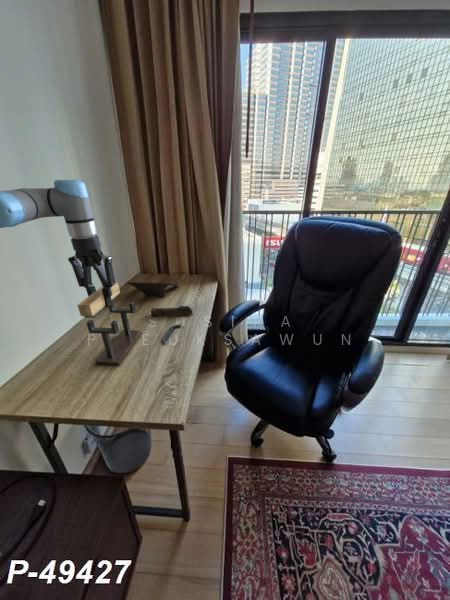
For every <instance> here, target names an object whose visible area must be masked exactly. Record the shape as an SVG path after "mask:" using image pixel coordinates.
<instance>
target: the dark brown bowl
mask: <svg viewBox="0 0 450 600" xmlns="http://www.w3.org/2000/svg"><path fill="white" fill-rule="evenodd" d="M126 284H127V285H130V286H132V287H133V288H136V289H137V290H138V291H140V292H141V293H142V294H143V296H144V297H146V298H147V297H149V298H151V297H157V298H164V297H165V290H166V288H167V287H171V288H175V289H180V285H179V284H178V282H177V281H176V282H175V283H171V282H153V281H150V282H146V281H145V282H144V281H143V282H141V281H140V282H138V281H126Z"/></svg>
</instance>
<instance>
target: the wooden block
mask: <svg viewBox="0 0 450 600" xmlns="http://www.w3.org/2000/svg"><path fill="white" fill-rule="evenodd" d="M103 288H104V287H103V285H102V286H100V287H99V288H98V289H96V291H95V292H94V293H93V294H91V295H90V296H87V297H86V298H84V299H83V300H82V301H80V302H79V303H78V304H76V305H77V308H78V312H79V315H80V317H84V318H85V319H86V318H88V319H94V318H96V317H97V316H98V315H100V314H101V312H103V311H104V310H106V308H107V307H106V304H105V300H104V296H103V292H102V289H103ZM111 292H112V296H111V300H112V302H113V303H114V301H115V300H116V299H118V297H119V296H120V293H121V291H120V285H119V282H116V281H115V285H113V286H112V287H111Z"/></svg>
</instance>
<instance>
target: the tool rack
mask: <svg viewBox="0 0 450 600" xmlns="http://www.w3.org/2000/svg"><path fill="white" fill-rule="evenodd" d="M135 304H136V303H135V301H130V302H129V303H128V307H129V308H128V307H127V308H126V307H124V308H122V307H116V306H115V303H114V301H113V302H112V304H111V305H110V306H109V307H108V311H109V313H110V314H111V313H112V314H120V319H121V322H122V327H123V329H122V330H120V328H119V324H118V320H113V321H111V323H110V327H96V325H95V322H94V320H93V319H88V320H87V322H86V323H85V324H86V327H87V330H88V333H89V334H100V335H101V339H102V342H103V345H104V348H105V350H104V351H103V352H102V354H101V355H100V356H99V357H98V358H97V359H96V360H95V362H96V365H97V366H113V367H115V366H116V367H119V366H120V365H121V364H122V362H123V361H124V359H125V357H126V356H127V355H128V353H129V352H130V350H132V347H133V346H134V344H135V343H136V342H137V340H138V338H139V337H140V336H141V334H142V332H141V330H135V329H131V328H130V324H129V323H130V322H129V319H128V315H127V314H135V312H136V311H137V310H136V305H135ZM110 334H111V335H116V337H115V338H114V339H113V340H112V341H111V337H110Z"/></svg>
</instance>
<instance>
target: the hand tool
mask: <svg viewBox="0 0 450 600" xmlns="http://www.w3.org/2000/svg"><path fill="white" fill-rule="evenodd" d="M150 313H151V317H159V316H161V317H162V316H180V317H187V316H191V315H193V310H192V308H191V307H190V306H189V305H179V306H178V307H161V308H160V307H157V308H155V307H152V308H151V309H150Z"/></svg>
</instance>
